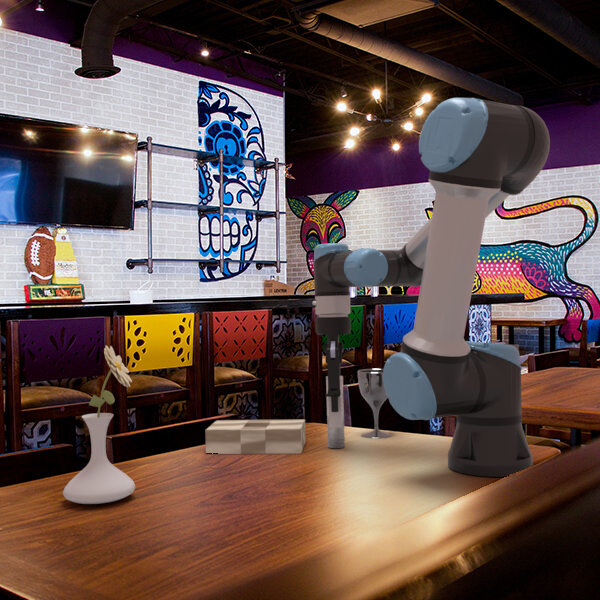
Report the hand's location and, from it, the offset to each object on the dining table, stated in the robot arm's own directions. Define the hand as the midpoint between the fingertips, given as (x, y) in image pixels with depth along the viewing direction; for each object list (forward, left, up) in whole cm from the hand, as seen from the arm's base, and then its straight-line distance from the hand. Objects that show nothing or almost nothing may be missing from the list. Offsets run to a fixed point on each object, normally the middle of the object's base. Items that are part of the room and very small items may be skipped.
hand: (335, 425), depth 152 cm
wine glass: (+13, -9, -5) cm, 17 cm away
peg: (0, 0, -5) cm, 5 cm away
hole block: (0, +17, -5) cm, 18 cm away
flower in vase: (-39, +37, -5) cm, 54 cm away
